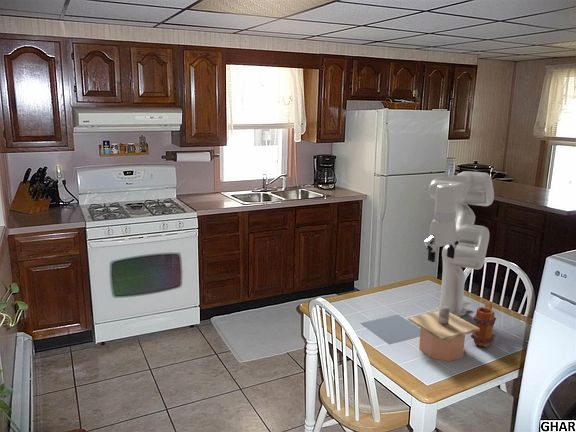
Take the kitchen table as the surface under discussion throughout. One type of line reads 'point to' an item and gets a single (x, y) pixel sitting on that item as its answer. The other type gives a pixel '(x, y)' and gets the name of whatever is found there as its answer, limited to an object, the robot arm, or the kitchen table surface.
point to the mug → (484, 325)
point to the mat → (393, 329)
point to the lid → (443, 324)
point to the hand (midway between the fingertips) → (440, 259)
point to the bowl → (441, 346)
